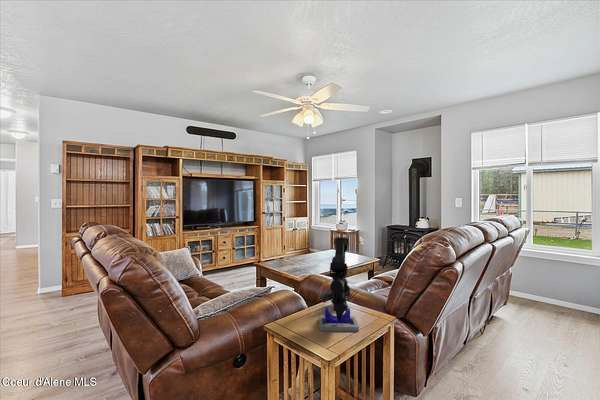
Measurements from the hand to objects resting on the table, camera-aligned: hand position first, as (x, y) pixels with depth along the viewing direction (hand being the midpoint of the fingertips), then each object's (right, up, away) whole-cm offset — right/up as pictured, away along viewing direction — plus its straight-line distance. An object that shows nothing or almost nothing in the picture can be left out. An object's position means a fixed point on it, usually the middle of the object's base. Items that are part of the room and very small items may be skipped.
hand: (338, 318), depth 142 cm
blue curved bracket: (0, -2, 0) cm, 2 cm away
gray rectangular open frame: (0, -3, 0) cm, 3 cm away
